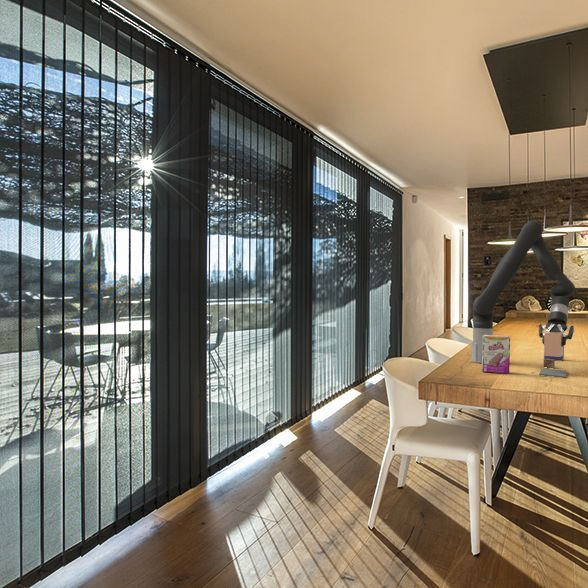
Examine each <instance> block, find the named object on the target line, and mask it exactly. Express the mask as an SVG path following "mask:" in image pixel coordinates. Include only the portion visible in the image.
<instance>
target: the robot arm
mask: <svg viewBox="0 0 588 588" xmlns="http://www.w3.org/2000/svg"><path fill="white" fill-rule="evenodd" d="M543 232H544V230H543V226H542V224H541V223H540V222H539V221H536V220H530V221H528V222H525V224H523V226H522V228H521V230H520V233H519V234H518V236H517V238H516V240H515V242H514V243H513V245H512V246H511V247H510V248H509V249H508V250H507V252H505V254H504V256H503V257H502V258H501V259H500V261H499V262H498V265H497V266H496V268H495V269H494V271H493V273H492V275H491V278H490V280H489V282H488V284H487V286H486V287H485V289H484V290H483V291H482V293H481V294H480V295H479V296H477V297H476V298H475V299H474V301H473V303H472V342H471V349H470V350H471V354H470V355H471V360H472V361H471V362H474V363H475V364H482V355H483V335H494V321H493V310H494V308H495V305H496V304H497V302H498V300H499V298H500V296H501V294H502V293H503V291H505V290H506V288H507V287H508V285H509V284H510V283H511V281H512V280H513V279H514V277H515V276H516V274H517V273H518V271H519V270H520V268H521V266H522V265H523V262H524V261H525V259H526V256H527V255H528V253H529V251H530V250H531V251H532V252H533V253H534V255H535V258H536V260H537V261H538V264H539V265H540V268H541V269H542V271H543V273H544V276H545V278H547V281H550V282H553V281H557V282H559V283H557V284H554V285H553V286H551V288H550V289H549V295H550V299H551V306H550V309H549V312H548V318H547V323H546V325H545V324H544V325H543V324H542V323H540V324H539V325H538V336H539V338H542V340H541V342H542V345H544V333H543V331H545V332H561V333H563V337H562V346H564V347H565V346H566V344H567V340H572V338H573V335H574V331H575V327H574V325H569V326H568V325H567V323H568V319H569V308H570V307H569V306H570V300H569V298H568V297H569V296H572V295H574V294H575V292H576V286H575V284H574V283H573V281H571V279H569V278H568V277H567V276H566V274H564V272H563V271H562V269H561V266H559V265H560V264H559V263H558V261H557V259H556V258H555V257H554V256H553V254H552V253H551V251H550V249H548V247H547V245H546V242H545V241H544V237H543ZM545 329H546V330H545ZM565 331H568V334H566V332H565Z"/></svg>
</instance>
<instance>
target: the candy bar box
mask: <svg viewBox="0 0 588 588" xmlns="http://www.w3.org/2000/svg"><path fill="white" fill-rule="evenodd" d="M510 353H511V336H510V335H495V334H493V335H483V355H482V363H481V366H482V367H481V370H482V373H489V374H503V375H504V374H507V375H509V374H510V360H511V359H510V358H511V354H510Z"/></svg>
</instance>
